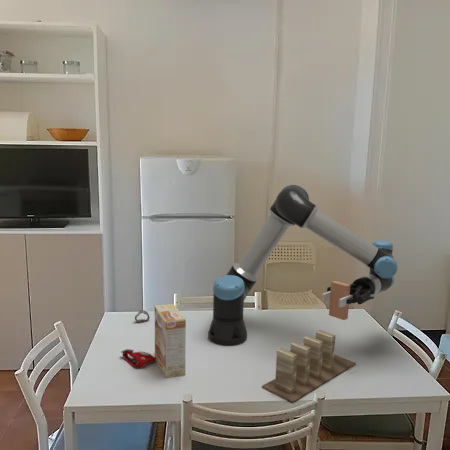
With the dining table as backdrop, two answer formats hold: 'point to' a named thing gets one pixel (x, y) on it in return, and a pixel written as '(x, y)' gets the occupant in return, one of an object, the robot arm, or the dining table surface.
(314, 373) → the maple tile
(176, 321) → the coffeecake box
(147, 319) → the wristwatch
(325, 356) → the maple tile
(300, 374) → the maple tile
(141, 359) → the tracker holder
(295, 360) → the maple tile
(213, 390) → the dining table surface
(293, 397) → the board
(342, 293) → the terracotta tile
